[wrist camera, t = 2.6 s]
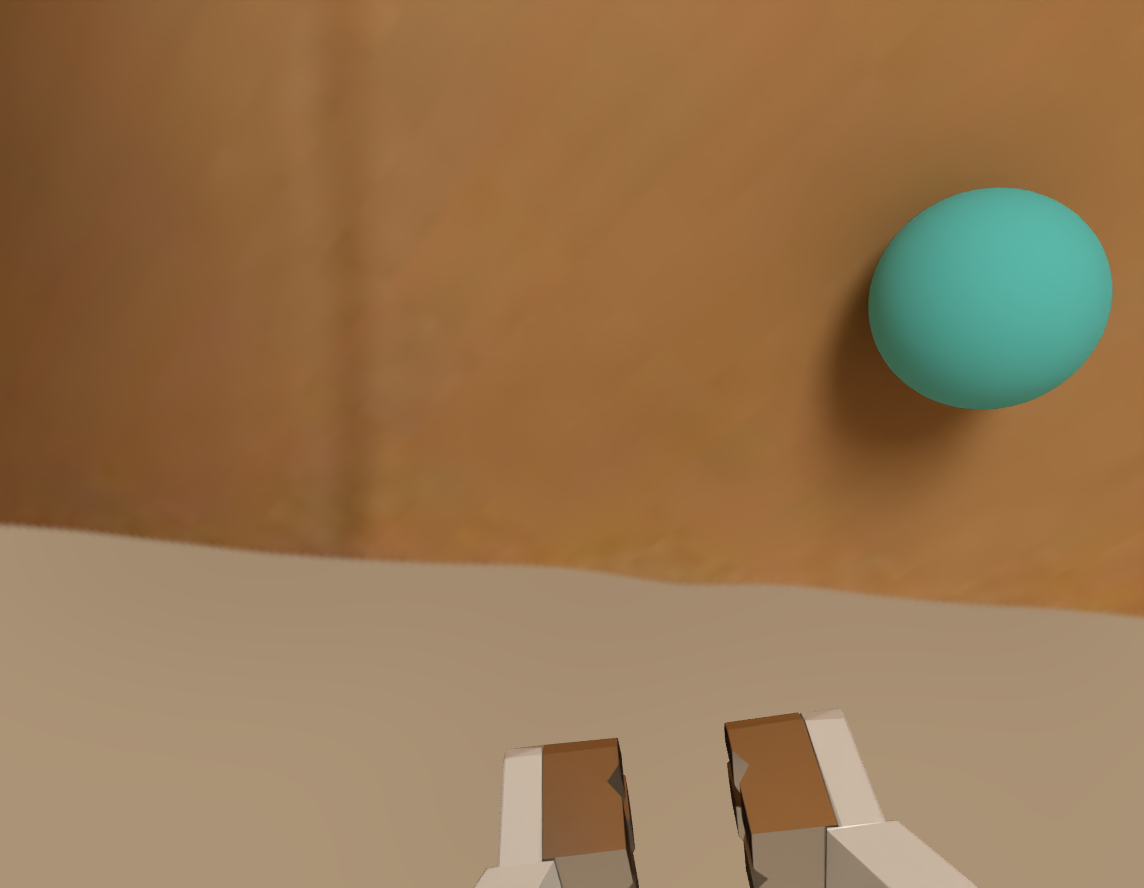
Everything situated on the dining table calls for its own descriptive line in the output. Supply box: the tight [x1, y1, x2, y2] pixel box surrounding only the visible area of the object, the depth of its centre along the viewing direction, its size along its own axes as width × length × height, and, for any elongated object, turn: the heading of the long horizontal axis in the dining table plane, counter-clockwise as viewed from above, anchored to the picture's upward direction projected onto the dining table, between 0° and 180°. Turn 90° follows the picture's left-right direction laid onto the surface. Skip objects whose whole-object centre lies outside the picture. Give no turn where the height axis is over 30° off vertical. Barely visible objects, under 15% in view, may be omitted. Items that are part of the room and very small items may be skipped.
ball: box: [868, 187, 1113, 410], centre depth 21 cm, size 6×6×6 cm
